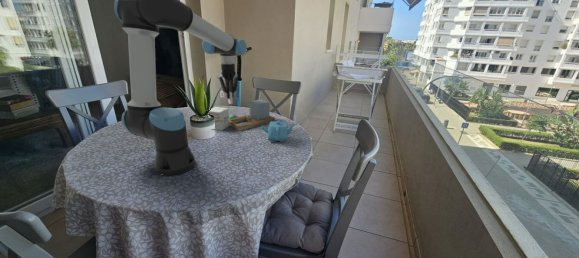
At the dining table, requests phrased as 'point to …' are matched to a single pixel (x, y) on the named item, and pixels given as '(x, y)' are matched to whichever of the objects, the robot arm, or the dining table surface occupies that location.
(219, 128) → the white labeled carton
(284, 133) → the teapot
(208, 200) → the dining table surface
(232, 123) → the pallet
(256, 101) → the block
